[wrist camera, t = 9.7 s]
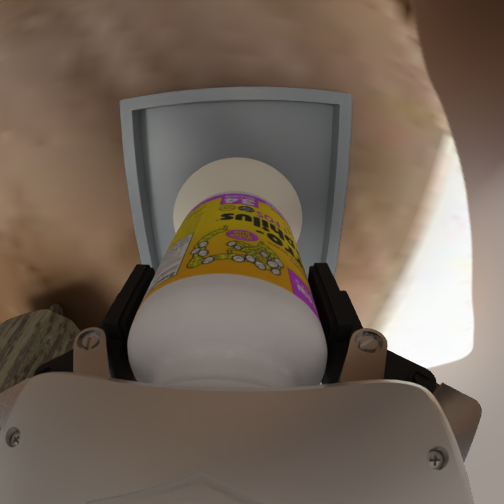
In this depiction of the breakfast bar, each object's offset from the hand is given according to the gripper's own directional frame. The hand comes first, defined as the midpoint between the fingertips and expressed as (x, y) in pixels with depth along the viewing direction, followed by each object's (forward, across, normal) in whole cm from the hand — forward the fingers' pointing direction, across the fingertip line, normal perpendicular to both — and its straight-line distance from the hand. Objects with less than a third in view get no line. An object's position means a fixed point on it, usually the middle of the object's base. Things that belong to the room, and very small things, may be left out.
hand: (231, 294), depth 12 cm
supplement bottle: (+5, 0, 0) cm, 5 cm away
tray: (+9, 0, 0) cm, 9 cm away
